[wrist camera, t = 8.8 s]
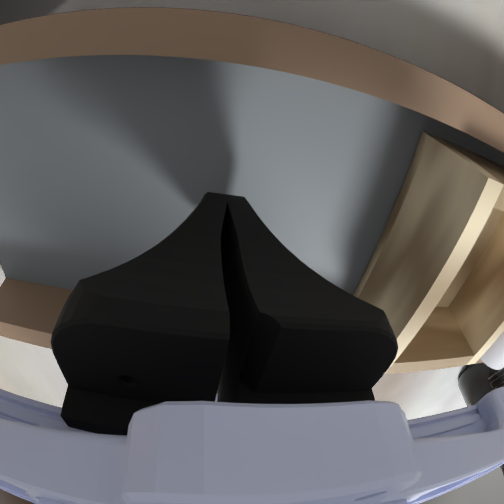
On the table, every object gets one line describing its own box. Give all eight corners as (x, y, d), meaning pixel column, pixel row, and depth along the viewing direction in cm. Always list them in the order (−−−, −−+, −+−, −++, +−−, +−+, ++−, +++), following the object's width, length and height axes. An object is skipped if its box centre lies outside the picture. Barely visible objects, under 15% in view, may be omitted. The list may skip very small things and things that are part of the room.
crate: (446, 311, 17) (475, 363, 13) (346, 307, 15) (369, 374, 12) (521, 177, 11) (574, 221, 8) (422, 131, 10) (488, 177, 7)
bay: (472, 324, 19) (500, 378, 15) (16, 287, 14) (-20, 356, 10) (563, 164, 11) (617, 209, 8) (-19, 37, 7) (-107, 62, 3)
